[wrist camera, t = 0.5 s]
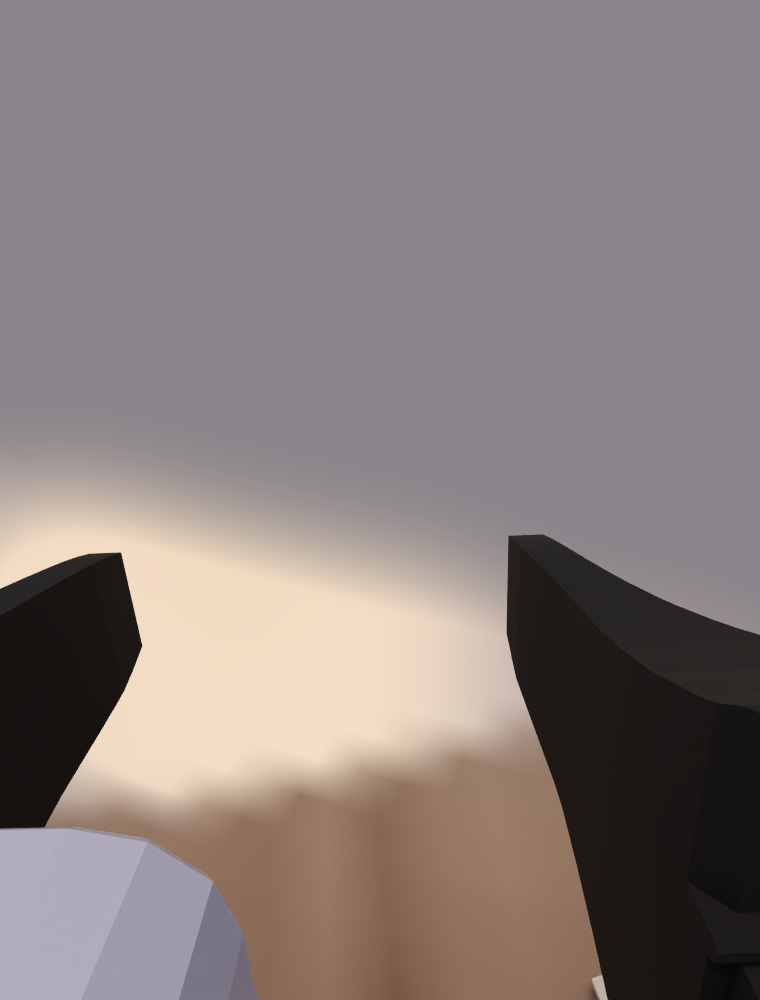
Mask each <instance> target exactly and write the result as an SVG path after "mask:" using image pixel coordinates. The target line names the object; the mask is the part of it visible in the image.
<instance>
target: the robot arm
mask: <svg viewBox="0 0 760 1000" xmlns="http://www.w3.org/2000/svg"><path fill="white" fill-rule="evenodd" d="M508 545H509V546H508V592H507V637H508V642H509V646H510V651H511V656H512V661H513V665H514V670H515V674H516V678H517V681H518V684H519V687H520V690H521V692H522V695H523V698H524V701H525V704H526V706H527V709H528V712H529V715H530V717H531V720H532V723H533V726H534V728H535V731H536V734H537V736H538V739H539V742H540V745H541V747H542V750H543V753H544V755H545V758H546V761H547V764H548V766H549V769H550V772H551V774H552V777H553V780H554V783H555V786H556V789H557V792H558V795H559V798H560V802H561V805H562V808H563V812H564V816H565V820H566V824H567V828H568V832H569V836H570V840H571V844H572V848H573V852H574V856H575V860H576V864H577V868H578V872H579V876H580V881H581V885H582V889H583V893H584V897H585V902H586V906H587V910H588V914H589V919H590V923H591V927H592V931H593V936H594V940H595V945H596V949H597V954H598V958H599V963H600V967H601V972H602V977H603V981H604V986H605V990H606V995H607V999H608V1000H760V635H758V634H755V633H752V632H748V631H745V630H741V629H738V628H735V627H732V626H729V625H726V624H723V623H720V622H718V621H714V620H712V619H709V618H707V617H704V616H701V615H699V614H697V613H694V612H691V611H689V610H687V609H684V608H681V607H679V606H676V605H674V604H672V603H670V602H667V601H665V600H663V599H661V598H658V597H656V596H654V595H652V594H650V593H648V592H646V591H644V590H642V589H640V588H638V587H636V586H634V585H632V584H630V583H628V582H626V581H624V580H622V579H621V578H619V577H617V576H615V575H613V574H611V573H610V572H608V571H606V570H604V569H603V568H601V567H599V566H597V565H596V564H594V563H592V562H591V561H589V560H587V559H585V558H584V557H582V556H580V555H579V554H577V553H575V552H574V551H572V550H570V549H569V548H567V547H565V546H564V545H562V544H560V543H558V542H557V541H555V540H553V539H551V538H549V537H547V536H545V535H522V536H520V535H519V536H509V544H508ZM141 648H142V643H141V638H140V634H139V630H138V625H137V621H136V616H135V612H134V608H133V603H132V599H131V595H130V591H129V586H128V581H127V577H126V573H125V568H124V564H123V559H122V555H121V553H101V554H100V553H98V554H87V555H83V556H79V557H76V558H73V559H70V560H67V561H64V562H62V563H59V564H57V565H54V566H52V567H50V568H47V569H45V570H42V571H40V572H38V573H35V574H33V575H31V576H28V577H26V578H24V579H21V580H19V581H17V582H15V583H12V584H10V585H8V586H6V587H3V588H1V589H0V1000H259V998H258V996H257V993H256V991H255V988H254V984H253V979H252V974H251V969H250V964H249V959H248V954H247V949H246V943H245V938H244V933H243V932H242V930H241V928H240V926H239V925H238V923H237V921H236V920H235V918H234V916H233V915H232V913H231V911H230V910H229V908H228V906H227V904H226V903H225V901H224V899H223V898H222V896H221V894H220V893H219V891H218V889H217V888H216V886H215V884H214V882H213V881H212V880H211V879H210V878H209V877H208V876H207V874H206V873H204V872H202V871H201V870H199V869H198V868H196V867H194V866H193V865H191V864H189V863H188V862H186V861H184V860H183V859H181V858H179V857H178V856H176V855H174V854H173V853H171V852H170V851H168V850H166V849H165V848H163V847H161V846H160V845H158V844H156V843H155V842H153V841H151V840H150V839H147V838H141V837H135V836H129V835H124V834H118V833H112V832H106V831H100V830H94V829H88V828H82V827H49V828H45V825H46V823H47V821H48V819H49V818H50V816H51V814H52V812H53V810H54V808H55V807H56V805H57V803H58V801H59V799H60V798H61V796H62V794H63V792H64V791H65V789H66V787H67V786H68V784H69V782H70V781H71V779H72V778H73V776H74V774H75V773H76V771H77V769H78V768H79V766H80V764H81V763H82V761H83V759H84V758H85V756H86V754H87V753H88V751H89V749H90V748H91V746H92V744H93V743H94V741H95V739H96V738H97V736H98V735H99V733H100V731H101V729H102V728H103V726H104V725H105V723H106V721H107V719H108V717H109V716H110V714H111V713H112V711H113V709H114V708H115V706H116V704H117V702H118V701H119V699H120V697H121V695H122V694H123V692H124V690H125V687H126V685H127V683H128V680H129V678H130V676H131V674H132V671H133V669H134V666H135V664H136V661H137V658H138V655H139V653H140V650H141Z"/></svg>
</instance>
